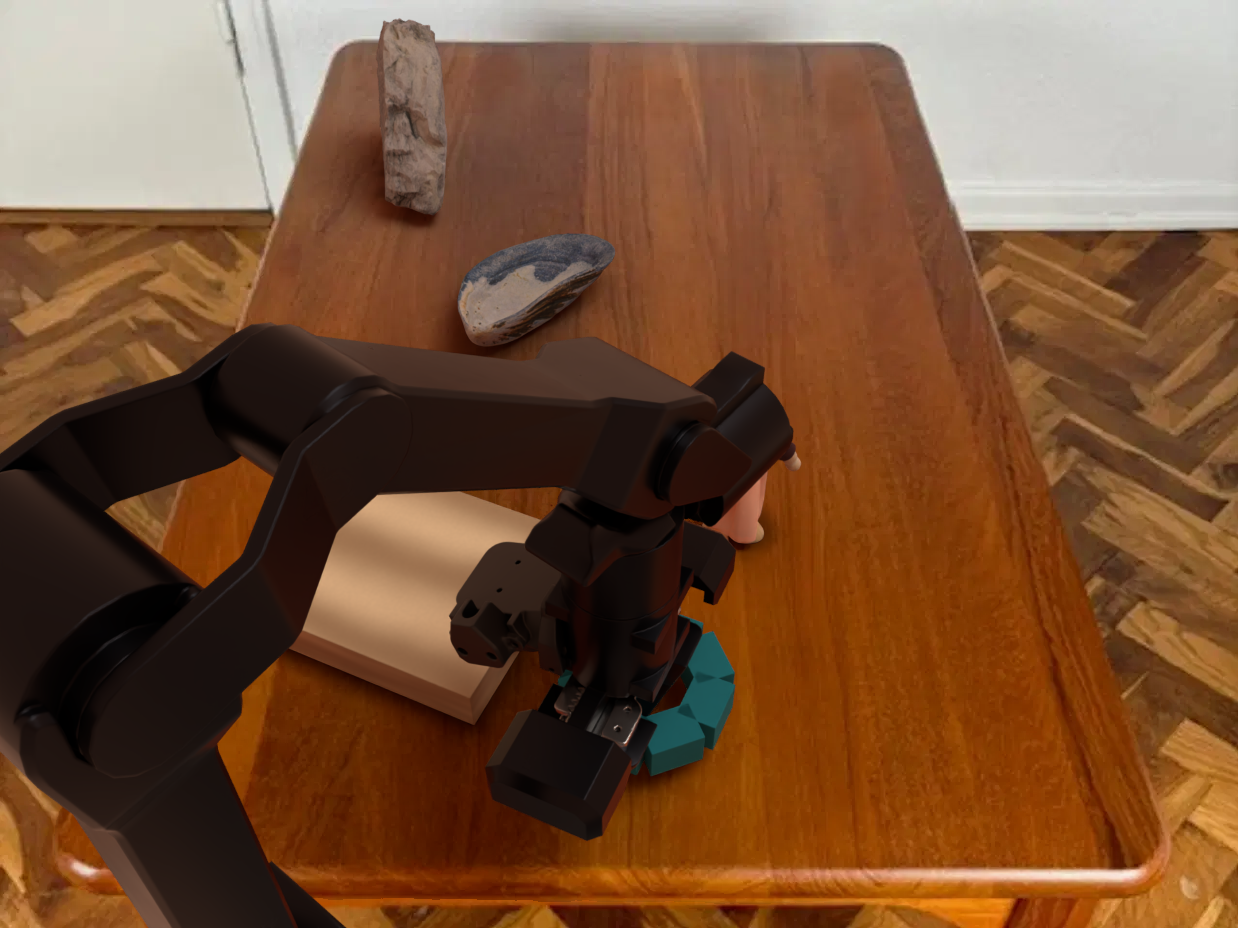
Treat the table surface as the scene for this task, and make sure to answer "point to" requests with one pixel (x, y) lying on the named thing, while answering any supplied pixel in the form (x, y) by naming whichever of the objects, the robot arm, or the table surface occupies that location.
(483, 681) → the board
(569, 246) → the seashell
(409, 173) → the decorative rock
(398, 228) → the table surface
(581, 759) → the robot arm
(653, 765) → the ring
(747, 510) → the grandmother figurine
